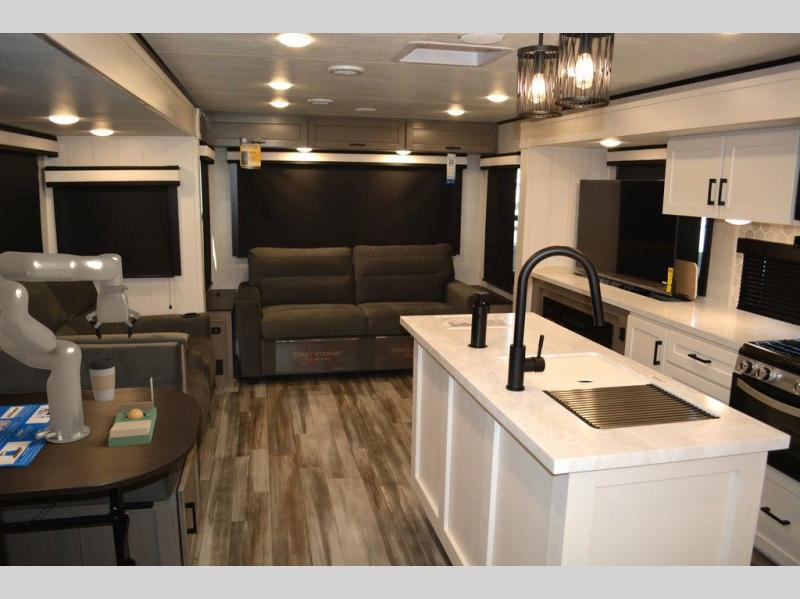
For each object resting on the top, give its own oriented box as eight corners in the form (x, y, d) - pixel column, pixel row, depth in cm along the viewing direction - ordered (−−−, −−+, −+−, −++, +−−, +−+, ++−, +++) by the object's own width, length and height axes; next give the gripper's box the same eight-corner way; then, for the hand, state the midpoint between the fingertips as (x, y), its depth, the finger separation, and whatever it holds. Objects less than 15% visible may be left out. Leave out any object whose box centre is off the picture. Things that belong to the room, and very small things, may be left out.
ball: (147, 421, 218) (146, 409, 216) (134, 428, 213) (133, 415, 212) (137, 416, 220) (135, 404, 218) (124, 423, 216) (123, 410, 214)
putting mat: (150, 443, 202) (147, 401, 199) (108, 447, 199) (105, 404, 196) (157, 414, 225) (154, 376, 223) (120, 416, 222) (117, 378, 219)
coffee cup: (112, 392, 246) (109, 354, 243) (121, 398, 240) (118, 360, 237) (87, 397, 240) (84, 359, 237) (96, 404, 233) (93, 364, 230)
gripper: (139, 287, 227) (142, 333, 230) (86, 288, 222) (90, 336, 225) (137, 291, 220) (140, 339, 223) (81, 292, 215) (86, 342, 218)
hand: (115, 337), depth 224 cm, fingers open, 9 cm apart
